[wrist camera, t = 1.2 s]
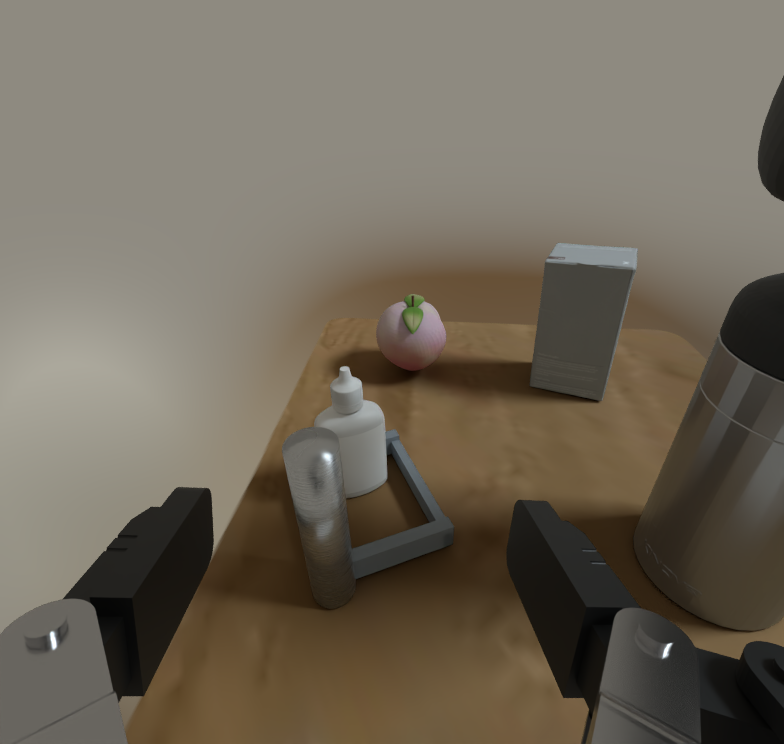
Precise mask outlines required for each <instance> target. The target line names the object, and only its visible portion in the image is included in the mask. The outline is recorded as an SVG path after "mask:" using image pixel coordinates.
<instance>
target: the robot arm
mask: <svg viewBox="0 0 784 744" xmlns="http://www.w3.org/2000/svg"><path fill="white" fill-rule="evenodd" d="M758 169H759V173H760V177H761V181H762V183H763V185H764V186H765V187H766V189H767V190H768V191H769V192H770V193H771V195H773V196H774V197H776V198H778V199H780V200H782V201H784V76H783V78H782V81H781V83H780V85H779V87H778V89H777V92H776V94H775V96H774V98H773V101H772V104H771V106H770V109H769V112H768V115H767V117H766V120H765V123H764V126H763V130H762V135H761V140H760V146H759V151H758ZM213 542H214V539H213V517H212V498H211V492H210V490H209V489H208V488H187V487H186V488H185V487H178V488H176V489H175V490H174V491H173V492H172V493H171V495H170V496H169V497H168V498H167V500H166V501H165V502H164V503H163V505H162V506H161V507H150V508H149V509H147V510H146V511H144V512H142V513H141V514H139V515H138V516H136V517H135V518H133V519H132V520H131V521H130V522H129V523H128V524H127V525H126V526H125V527H124V529H123V530H122V531H121V532H120V533H119V535H118V538H115V539H114V540H113V541H112V543H111V544H110V545H109V546H108V547H107V550H106V551H104V552H103V553H102V554H101V555H100V556H99V558H98V559H97V560H96V561H95V562H94V563H93V565H92V566H91V567H90V568H89V569H88V570H87V572H86V573H85V574H84V575H83V576H82V577H81V578H80V580H79V581H78V582H77V583H76V584H75V586H74V587H73V588H72V589H71V590H70V591H69V593H68V594H67V595H66V596H65V597H64V598H63V599H62V600H58V601H54V602H50V603H47V604H44V605H42V606H39V607H37V608H35V609H33V610H31V611H29V612H27V613H25V614H24V615H23V616H21V617H19V618H18V619H16V620H15V621H14V622H12V623H11V624H10V625H9V626H8V627H7V628H6V629H5V630H4V631H3V632H2V633H1V634H0V744H128V743H127V739H126V734H125V730H124V725H123V721H122V717H121V712H120V708H119V704H118V703H119V701H120V699H121V697H122V696H144V695H145V693H146V691H147V689H148V687H149V685H150V683H151V681H152V679H153V677H154V675H155V673H156V671H157V669H158V667H159V665H160V662H161V660H162V658H163V656H164V654H165V652H166V650H167V648H168V646H169V644H170V642H171V640H172V638H173V636H174V634H175V632H176V630H177V628H178V626H179V624H180V622H181V620H182V618H183V616H184V614H185V612H186V610H187V608H188V606H189V604H190V602H191V600H192V598H193V596H194V594H195V592H196V590H197V588H198V586H199V584H200V582H201V580H202V578H203V576H204V574H205V572H206V570H207V568H208V566H209V563H210V560H211V556H212V551H213ZM633 542H634V550H635V553H636V556H637V559H638V561H639V563H640V565H641V566H642V568H643V570H644V571H645V573H646V574H647V576H648V577H649V578H650V579H651V580H652V582H653V583H654V584H655V585H656V586H657V587H658V588H659V589H660V590H661V591H662V592H663V593H664V594H665V595H666V596H668V597H669V598H670V599H671V600H673V601H674V602H675V603H677V604H678V605H680V606H681V607H682V608H684V609H685V610H687V611H689V612H691V613H693V614H694V615H696V616H698V617H700V618H702V619H704V620H706V621H709V622H712V623H714V624H717V625H720V626H723V627H727V628H732V629H736V630H750V631H756V630H761V629H766V628H769V627H771V626H773V625H775V624H776V623H778V622H779V621H780V620H781V619H782V618H783V617H784V273H781V274H776V275H772V276H767V277H764V278H761V279H759V280H756V281H754V282H752V283H750V284H748V285H747V286H745V287H744V288H743V289H742V290H741V291H740V292H739V293H738V295H737V296H736V297H735V299H734V301H733V302H732V304H731V306H730V308H729V311H728V313H727V316H726V318H725V320H724V322H723V325H722V327H721V330H720V333H719V335H718V337H717V340H716V342H715V344H714V347H713V349H712V351H711V354H710V356H709V358H708V361H707V363H706V365H705V368H704V370H703V372H702V375H701V378H700V380H699V382H698V385H697V387H696V389H695V392H694V394H693V396H692V399H691V401H690V403H689V406H688V408H687V410H686V413H685V415H684V417H683V420H682V422H681V424H680V427H679V429H678V431H677V434H676V436H675V438H674V441H673V443H672V445H671V448H670V450H669V452H668V455H667V457H666V459H665V462H664V464H663V466H662V469H661V471H660V473H659V475H658V478H657V480H656V482H655V485H654V487H653V489H652V492H651V494H650V496H649V498H648V501H647V503H646V505H645V508H644V510H643V512H642V515H641V517H640V519H639V522H638V524H637V526H636V529H635V533H634V537H633ZM507 566H508V570H509V574H510V576H511V578H512V581H513V583H514V585H515V588H516V590H517V592H518V595H519V597H520V599H521V601H522V604H523V606H524V608H525V611H526V613H527V615H528V618H529V620H530V622H531V624H532V627H533V629H534V631H535V634H536V636H537V638H538V641H539V643H540V645H541V647H542V650H543V652H544V654H545V657H546V659H547V661H548V664H549V666H550V668H551V670H552V673H553V675H554V677H555V680H556V682H557V684H558V687H559V689H560V691H561V694H562V696H563V698H584V699H585V701H586V703H587V706H588V708H589V711H588V715H587V718H586V722H585V727H584V731H583V736H582V740H581V744H784V647H782V646H779V645H776V644H773V643H769V642H762V641H754V642H750V643H748V644H747V645H746V646H745V648H744V650H743V653H742V655H741V658H740V660H738V659H734V658H731V657H727V656H724V655H720V654H717V653H713V652H709V651H706V650H702V649H699V648H696V647H695V646H694V645H693V643H692V641H691V640H690V639H689V637H688V636H687V635H686V634H685V633H684V632H683V631H682V630H681V629H680V628H678V627H677V626H676V625H675V624H673V623H672V622H671V621H669V620H667V619H666V618H664V617H662V616H660V615H658V614H656V613H654V612H651V611H648V610H645V609H641V608H640V606H639V605H638V604H637V602H636V601H635V600H634V598H633V597H632V596H631V594H630V593H629V592H628V590H627V589H626V588H625V586H624V585H623V584H622V582H621V581H620V580H619V579H618V577H617V576H616V575H615V573H614V572H613V571H612V569H611V568H610V567H609V565H606V561H605V560H604V559H603V557H602V556H601V555H600V553H599V552H596V548H595V547H594V545H593V544H592V543H591V541H590V540H589V539H588V538H587V536H586V535H585V534H584V533H583V532H582V531H580V530H579V529H578V528H576V527H575V526H574V525H572V524H571V523H570V522H568V521H561V520H560V518H559V517H558V515H557V514H556V512H555V511H554V510H553V508H552V507H551V505H550V504H549V503H548V502H547V501H532V500H518V501H517V502H516V504H515V507H514V511H513V517H512V523H511V528H510V534H509V539H508V545H507Z"/></svg>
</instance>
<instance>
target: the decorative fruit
mask: <svg viewBox="0 0 784 744" xmlns="http://www.w3.org/2000/svg"><path fill="white" fill-rule="evenodd" d="M404 300H405V301H403V302H399V303H396V304H394V305H392V306H390V307H389V308H387V309H386V310H385V311H384V312H383V314H382V315H381V317H380V319H379V321H378V325H377V330H376V337H377V343H378V346H379V348H380V350H381V352H382V353H383V355H384V356H385V357H386V358H387V359H388V360H389V361H391V362H392V363H394V364H395V365H397V366H398V367H400V368H403V369H406V370H410V371H414V370H420V369H423V368H425V367H427V366H429V365H430V364H432V363H433V362H434V361H435V360H436V359H437V358H438V357H439V355H440V354H441V352H442V350H443V348H444V346H445V342H446V332H445V329H444V326H443V324H442V322H441V320H440V317H439V315H438V313H437V311H436V309H435V308H434V307H433V306H432V305H430V304H429V303H426V302H424V298H423V297H422V296H420V295H415V294H411V295H408V296H407V297H405V299H404Z"/></svg>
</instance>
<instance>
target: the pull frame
mask: <svg viewBox="0 0 784 744" xmlns="http://www.w3.org/2000/svg"><path fill="white" fill-rule="evenodd" d="M385 436H386V455H389V454H392V455H393V457H394V459H395V461H396V463H397V464H398V466H399V468H400V470H401V472H402V474H403V475H404V477H405V479H406V481H407V483H408V484H409V486H410V488H411V490H412V492H413V494H414V495H415V497H416V499H417V501H418V503H419V504H420V506H421V508H422V510H423V512H424V514H425V515H426V517H427V519H428V521H429V523H427V524H424V525H421V526H418V527H415V528H412V529H409V530H406V531H403V532H401V533H398V534H395V535H392V536H389V537H386V538H383V539H380V540H377V541H374V542H371V543H368V544H365V545H362V546H359V547H356V548H353V549H352V547H351V539H350V530H349V522H348V513H347V505H346V496H345V488H344V479H343V471H342V462H341V454H340V445H339V439H338V437H337V435H336V434H335V433H334V432H333V431H331V430H329V429H327V428H323V427H309V428H304V429H301V430H299V431H296V432H295V433H293V434H291V435H290V436H289V437H288V438H287V439H286V440H285V442H284V444H283V446H282V453H283V458H284V462H285V467H286V472H287V476H288V481H289V486H290V490H291V495H292V500H293V504H294V509H295V514H296V518H297V523H298V528H299V532H300V537H301V542H302V546H303V551H304V556H305V560H306V565H307V570H308V574H309V579H310V584H311V588H312V593H313V597H314V599H315V601H316V602H317V603H318V604H319V605H320V606H322V607H325V608H330V609H333V608H338V607H341V606H343V605H345V604H346V603H347V602H348V601H349V600H350V599H351V598H352V597H353V595H354V592H355V589H356V581H355V579H358V578H360V577H363V576H366V575H369V574H372V573H374V572H377V571H380V570H383V569H385V568H388V567H391V566H394V565H396V564H399V563H402V562H405V561H408V560H410V559H413V558H416V557H419V556H421V555H424V554H427V553H430V552H432V551H435V550H438V549H441V548H444V547H446V546H449V545H452V544H453V535H454V526H453V524H452V522H451V521H450V519H449V517H445V516H444V514H443V512H442V511H441V509H440V507H439V506H438V504H437V502H436V501H435V499H434V497H433V496H432V494H431V492H430V491H429V489H428V487H427V486H426V484H425V482H424V480H423V479H422V477H421V475H420V474H419V472H418V470H417V469H416V467H415V465H414V464H413V462H412V460H411V459H410V457H409V455H408V454H407V452H406V450H405V449H404V447H403V445H402V444H401V442H400V440H399V435H398V433H397V431H396V430H395V429H394V430H391V431H387V432H385Z"/></svg>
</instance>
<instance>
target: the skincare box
mask: <svg viewBox="0 0 784 744" xmlns="http://www.w3.org/2000/svg"><path fill="white" fill-rule="evenodd" d="M637 252H638V249H637V248H624V247H605V246H590V245H576V244H565V243H557V245H556V246H555V248H554V249H553V250H552V252H551V253H550V255H549V256H548V258H547V259H546V261H545V268H544V277H543V284H542V293H541V301H540V308H539V316H538V324H537V331H536V339H535V347H534V354H533V361H532V369H531V377H530V386H531V387H536V388H541V389H546V390H550V391H555V392H560V393H565V394H570V395H575V396H579V397H584V398H589V399H594V400H599V401H602V400H603V397H604V393H605V389H606V385H607V381H608V377H609V374H610V370H611V366H612V362H613V358H614V354H615V350H616V346H617V342H618V338H619V334H620V330H621V326H622V322H623V318H624V314H625V310H626V306H627V302H628V298H629V294H630V290H631V286H632V282H633V278H634V275H635V272H636V266H637Z"/></svg>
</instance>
